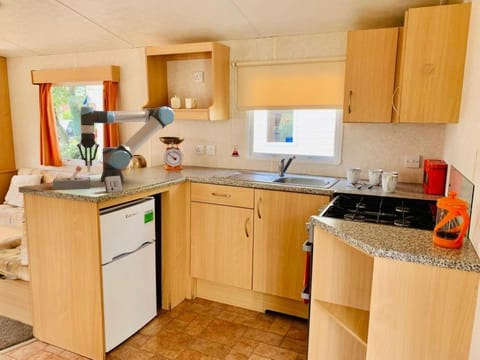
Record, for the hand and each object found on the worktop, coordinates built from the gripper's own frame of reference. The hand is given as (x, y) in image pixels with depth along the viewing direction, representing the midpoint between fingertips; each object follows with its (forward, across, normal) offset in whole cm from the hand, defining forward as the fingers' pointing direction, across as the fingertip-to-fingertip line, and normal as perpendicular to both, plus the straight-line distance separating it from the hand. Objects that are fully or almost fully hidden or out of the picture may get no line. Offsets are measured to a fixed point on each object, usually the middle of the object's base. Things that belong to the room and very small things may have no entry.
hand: (88, 171), depth 224 cm
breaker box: (+10, -10, -1) cm, 13 cm away
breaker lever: (+6, -10, -1) cm, 12 cm away
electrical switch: (+10, +12, -21) cm, 26 cm away
